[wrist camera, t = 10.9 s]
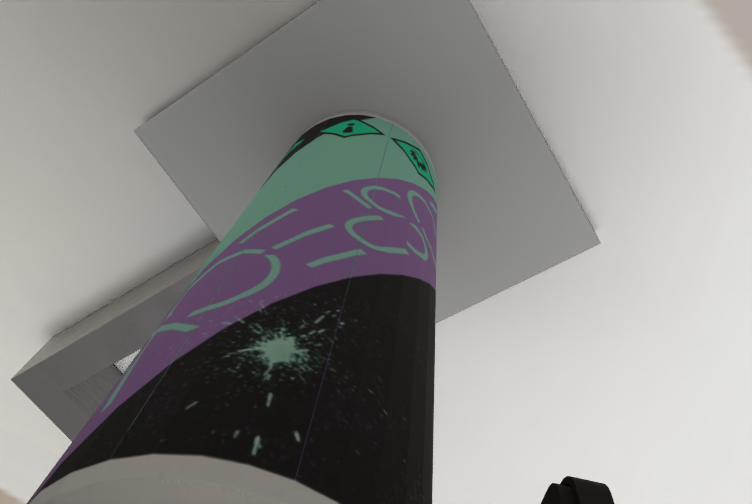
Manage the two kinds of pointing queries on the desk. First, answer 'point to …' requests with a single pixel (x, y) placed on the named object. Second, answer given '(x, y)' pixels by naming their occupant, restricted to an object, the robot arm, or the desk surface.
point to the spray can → (288, 346)
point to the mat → (407, 106)
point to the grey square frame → (102, 347)
